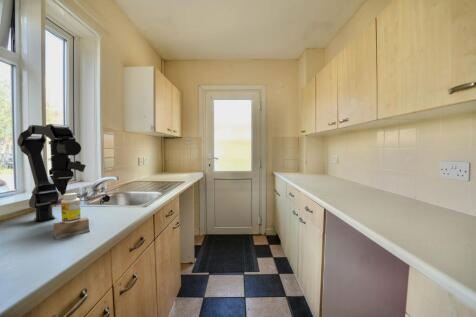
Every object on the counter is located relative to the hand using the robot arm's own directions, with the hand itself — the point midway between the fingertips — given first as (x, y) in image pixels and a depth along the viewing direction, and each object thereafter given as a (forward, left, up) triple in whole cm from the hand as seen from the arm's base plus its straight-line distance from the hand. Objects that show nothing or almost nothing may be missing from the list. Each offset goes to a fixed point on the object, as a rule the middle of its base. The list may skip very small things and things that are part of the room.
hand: (61, 193), depth 93 cm
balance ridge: (+15, +1, -13) cm, 20 cm away
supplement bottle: (+15, +1, -9) cm, 17 cm away
